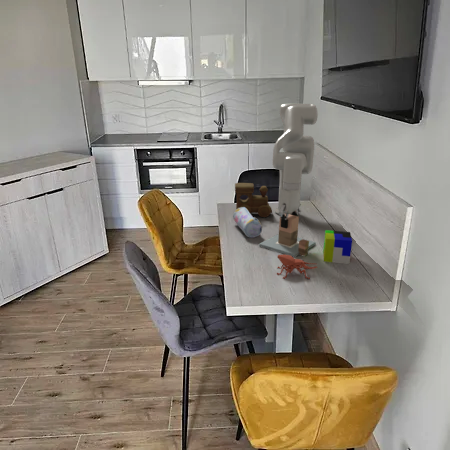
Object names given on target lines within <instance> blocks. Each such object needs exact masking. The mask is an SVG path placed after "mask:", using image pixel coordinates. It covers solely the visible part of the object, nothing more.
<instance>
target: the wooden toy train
mask: <svg viewBox="0 0 450 450" xmlns="http://www.w3.org/2000/svg"><path fill="white" fill-rule="evenodd" d="M254 189H255V185H254V183H253V182H252V183H251V182H236V183H234V192H235V193H236V205H235V208H236V209H238V208H241V207H245V208H247V210H248V211H249V213H250V214H251V215H252V214H257V215H258V216H259V217H260V218H263V217H265V218H268V217H269V216H271V214H273V209H272V207H271V205H270V204H269V197H268V196H267V193H268V191H269V188H267V186H266V185H262V186H260V188H259V189H258V190H259V193H260V195H258V194H257V195H256V194H253V193H254V191H255V190H254ZM242 196H246V197H247V198H246V199H242V198H241V197H242ZM236 209H235V210H236Z"/></svg>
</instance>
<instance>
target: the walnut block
mask: <svg viewBox="0 0 450 450" xmlns="http://www.w3.org/2000/svg"><path fill="white" fill-rule="evenodd" d="M298 232H299V229H298V230H296V231H294V232H292V233H288V232H284V231H281V230H279V229H278V234H279V238H278V243H280V244H284V245H287V246H291V245H293V244H295V243H297V237H299V236H298V234H299V233H298Z"/></svg>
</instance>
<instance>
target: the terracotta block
mask: <svg viewBox="0 0 450 450" xmlns="http://www.w3.org/2000/svg"><path fill="white" fill-rule="evenodd" d="M285 216H286V214H285ZM287 219H288V228H287V229H286V228H282V227H281V218H280V217H279V221H278V222H279V223H278V224H279V225H278V231H279V230H281V231H284V232H288V233H292V232H294V231H296V230H298V231H299V223H300V222H299V221H300V220H299V219H300V216H294V215H290V214H289V215H288V218H287Z"/></svg>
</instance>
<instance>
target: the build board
mask: <svg viewBox="0 0 450 450" xmlns="http://www.w3.org/2000/svg"><path fill="white" fill-rule="evenodd" d="M278 238H279V233H278V234H276V235H274V236H272V237H270V238H268V239H266V240H264V241H262V242H260V243H259V245H258V246H259V247H261V248H264V249H267V250H270V251H274V252H277V253H280V254H282V255H286V254H287V255H291V256H294V257H293V258H296V257H298V256H300V255H299V252H298V249H299V241H300V240H302V239H304V240H308V241H309V248H308V250H309V249H311V248H312V247H314V246H316V243H317V242H316V241H314V240H313V241H312V240H309V239H305V238H302V237H299V236H297V243H295V244H293V245H291V246H287V245H284V244H280V243H278ZM297 255H298V256H297ZM295 256H296V257H295Z"/></svg>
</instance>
